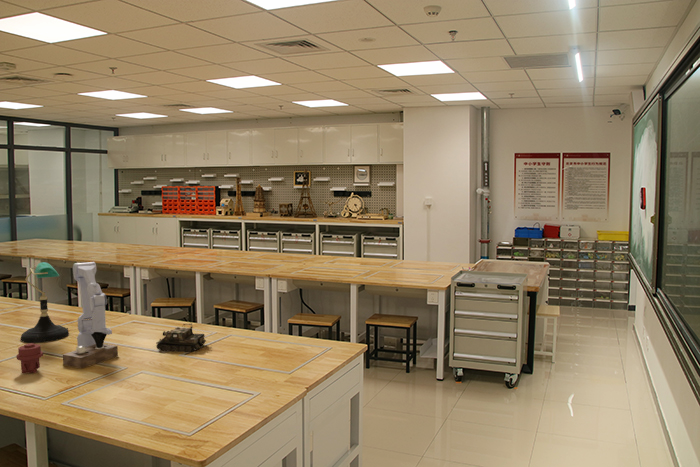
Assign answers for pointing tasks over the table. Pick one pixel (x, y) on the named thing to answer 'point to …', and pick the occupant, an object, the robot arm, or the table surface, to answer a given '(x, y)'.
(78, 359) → the walnut block
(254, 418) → the table surface
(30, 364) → the mechanical component
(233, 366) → the table surface
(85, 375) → the table surface
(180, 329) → the model tank
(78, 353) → the peg
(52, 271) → the banker's lamp
